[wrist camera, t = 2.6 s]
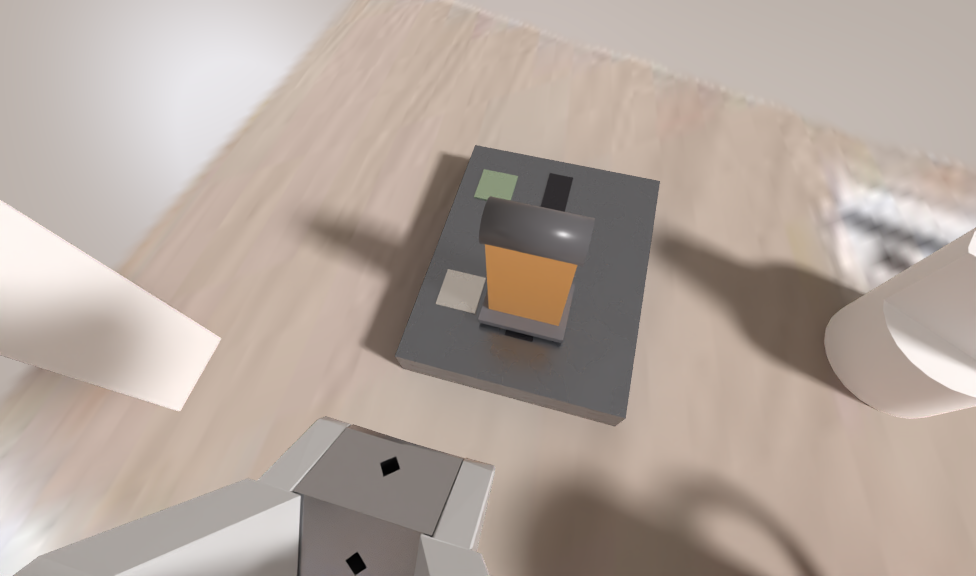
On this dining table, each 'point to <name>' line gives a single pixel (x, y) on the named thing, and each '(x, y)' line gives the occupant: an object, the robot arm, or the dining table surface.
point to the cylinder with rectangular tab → (912, 337)
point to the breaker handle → (531, 266)
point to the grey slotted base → (595, 303)
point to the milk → (92, 319)
